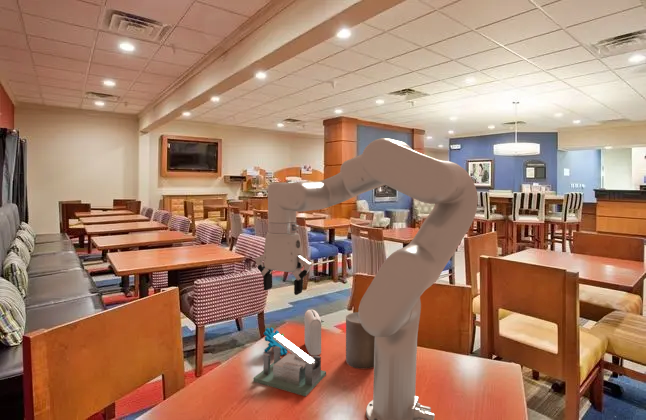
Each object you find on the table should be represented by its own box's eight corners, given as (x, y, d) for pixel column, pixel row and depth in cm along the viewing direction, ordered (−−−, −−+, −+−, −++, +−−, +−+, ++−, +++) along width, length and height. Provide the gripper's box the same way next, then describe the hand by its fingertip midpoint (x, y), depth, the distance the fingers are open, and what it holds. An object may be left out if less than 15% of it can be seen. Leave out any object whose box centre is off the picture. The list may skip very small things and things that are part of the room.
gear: (282, 356, 115) (261, 330, 117) (268, 369, 116) (248, 342, 118) (295, 346, 125) (276, 322, 128) (282, 358, 126) (264, 333, 129)
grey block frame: (323, 374, 106) (323, 354, 105) (309, 388, 99) (309, 367, 98) (277, 363, 112) (277, 344, 112) (261, 375, 105) (261, 355, 105)
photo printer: (303, 342, 129) (303, 306, 128) (315, 341, 130) (316, 305, 129) (309, 356, 119) (309, 317, 118) (322, 355, 120) (322, 316, 119)
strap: (316, 364, 104) (318, 361, 103) (311, 370, 101) (313, 366, 101) (278, 335, 109) (279, 332, 108) (271, 339, 106) (273, 336, 105)
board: (326, 374, 108) (326, 371, 108) (305, 396, 97) (305, 392, 97) (277, 362, 115) (277, 359, 115) (253, 381, 104) (253, 377, 104)
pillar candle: (384, 361, 116) (384, 312, 115) (364, 372, 109) (364, 321, 108) (358, 351, 123) (359, 305, 122) (338, 362, 116) (338, 313, 115)
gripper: (317, 228, 103) (317, 291, 104) (263, 225, 111) (264, 284, 112) (304, 232, 96) (304, 299, 98) (247, 228, 104) (248, 291, 105)
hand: (282, 291), depth 105 cm, fingers open, 9 cm apart
